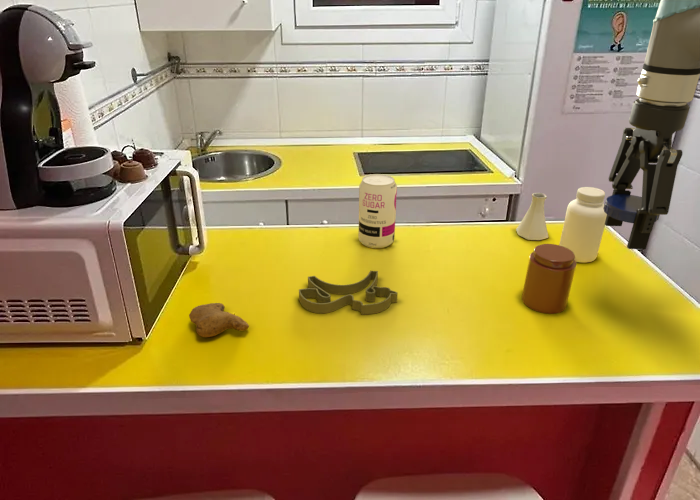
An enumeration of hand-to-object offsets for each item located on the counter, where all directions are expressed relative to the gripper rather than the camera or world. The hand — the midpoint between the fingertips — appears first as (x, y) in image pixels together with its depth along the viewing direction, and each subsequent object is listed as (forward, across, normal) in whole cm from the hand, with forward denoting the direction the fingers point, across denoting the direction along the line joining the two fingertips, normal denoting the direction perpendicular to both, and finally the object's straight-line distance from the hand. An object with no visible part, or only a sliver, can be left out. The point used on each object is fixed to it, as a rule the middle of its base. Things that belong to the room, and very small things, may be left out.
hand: (624, 236), depth 89 cm
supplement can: (+15, -26, -41) cm, 51 cm away
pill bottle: (+15, -21, +3) cm, 26 cm away
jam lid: (-6, 0, 0) cm, 6 cm away
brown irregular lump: (+15, +7, -69) cm, 71 cm away
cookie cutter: (+15, -2, -47) cm, 50 cm away
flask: (+15, -31, -4) cm, 35 cm away
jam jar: (+15, -2, -10) cm, 18 cm away
